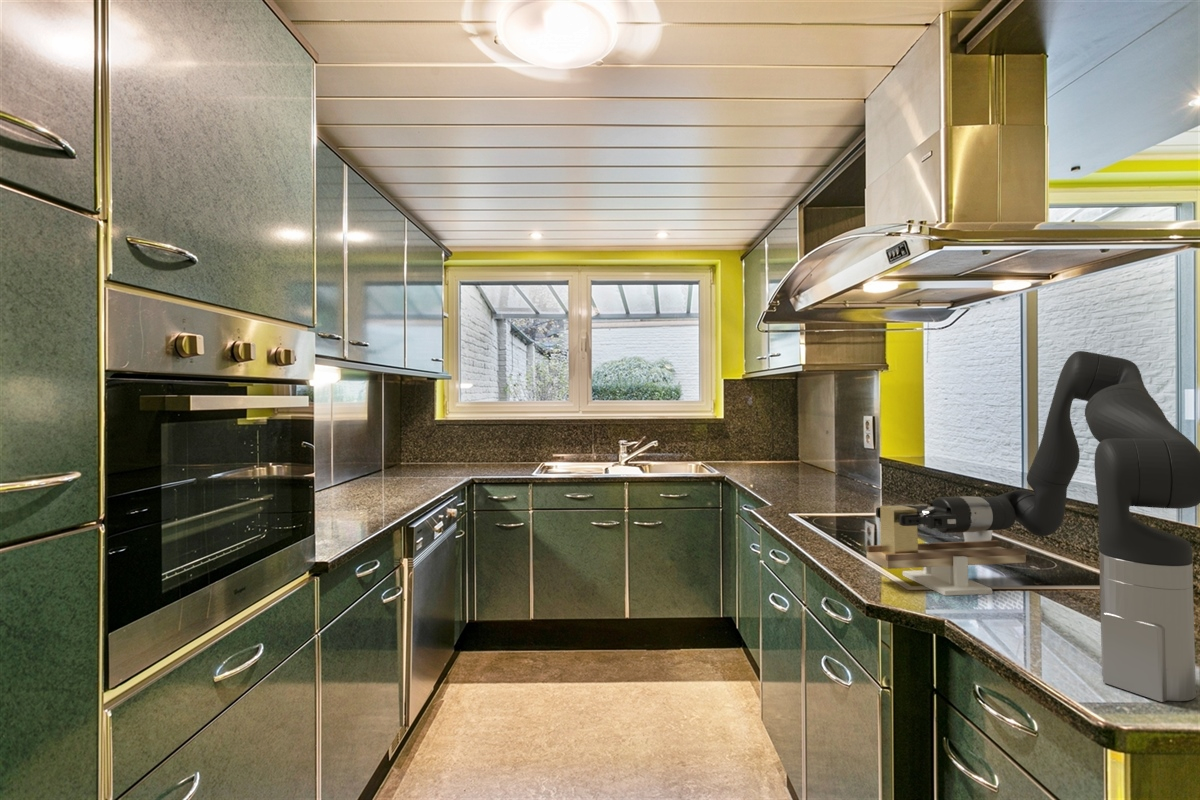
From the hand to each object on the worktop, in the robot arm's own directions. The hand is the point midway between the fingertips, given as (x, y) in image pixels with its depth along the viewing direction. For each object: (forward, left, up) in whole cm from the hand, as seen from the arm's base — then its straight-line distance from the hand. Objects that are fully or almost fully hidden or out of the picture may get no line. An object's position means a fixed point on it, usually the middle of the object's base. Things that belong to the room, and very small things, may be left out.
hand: (888, 516), depth 122 cm
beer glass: (+37, +3, -15) cm, 41 cm away
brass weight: (+2, -1, -8) cm, 9 cm away
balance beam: (+11, -5, -10) cm, 16 cm away
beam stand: (+11, -5, -15) cm, 19 cm away
